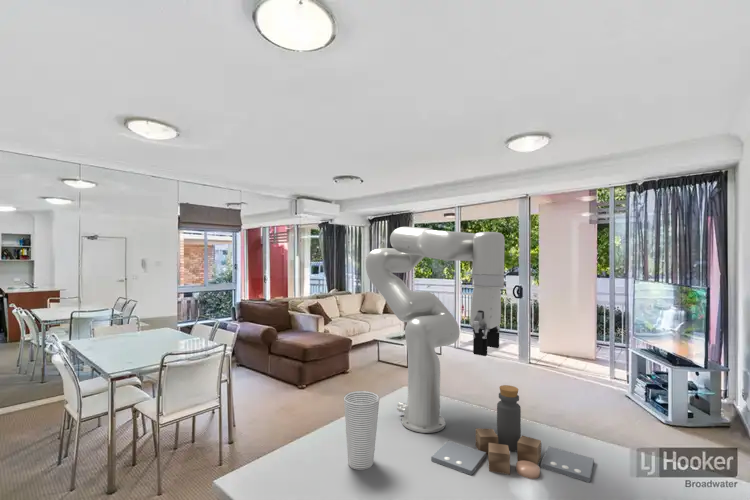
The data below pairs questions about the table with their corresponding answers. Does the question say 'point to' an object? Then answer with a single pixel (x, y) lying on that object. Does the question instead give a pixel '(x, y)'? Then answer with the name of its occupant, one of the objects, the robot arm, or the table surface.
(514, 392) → the bottle
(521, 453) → the block
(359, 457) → the cup
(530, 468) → the peach glossy rounded part
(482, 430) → the block
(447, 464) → the pad two
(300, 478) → the table surface
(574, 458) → the pad three
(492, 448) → the block
